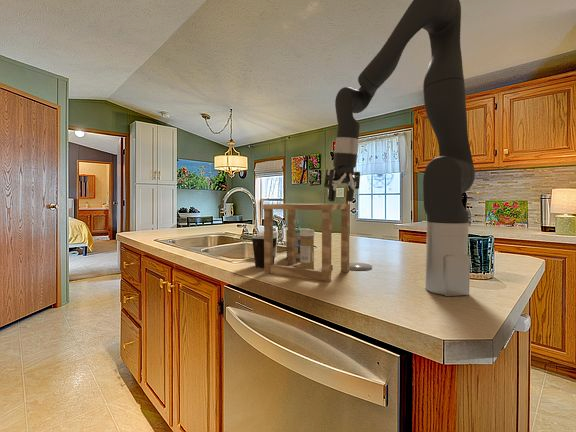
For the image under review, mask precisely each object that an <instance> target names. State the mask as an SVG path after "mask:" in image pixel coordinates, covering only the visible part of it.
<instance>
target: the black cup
mask: <svg viewBox="0 0 576 432" xmlns="http://www.w3.org/2000/svg"><path fill="white" fill-rule="evenodd" d="M278 233H279V232H278V231H277V230H273V236H275V237H277V238H279V237H278V235H279V234H278ZM257 236H264V230H260V231H257ZM277 250H278V240H277V241H276V250H275V256H276V257H277Z"/></svg>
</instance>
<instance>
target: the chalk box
mask: <svg viewBox="0 0 576 432" xmlns="http://www.w3.org/2000/svg"><path fill="white" fill-rule="evenodd" d="M295 225H296V226H297V227H295V261H298V260H299V261H300V245H301V237H300V230H303V229H311V230H313V228H306V227H305V228H302V227H301V225H300V223H299V220H295ZM285 232H286V235H285V236H286V260H287V259H288V229H286V231H285Z"/></svg>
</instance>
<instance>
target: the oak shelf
mask: <svg viewBox="0 0 576 432" xmlns="http://www.w3.org/2000/svg"><path fill="white" fill-rule="evenodd" d="M350 209H351V203H267V204H266V203H263V204H262V210H263V231H264V268H263V269H264V270H263V272H264V273H266V274H273V273H274V274H275V275H282V276H289V277H295V278H304V279H308V280H317V281H322V282H326V283H329V282H331V281H332V271H333V270H334V269H333V264H332V236H333V235H332V232H333V231H332V224H333V223H332V221H333V220H332V218H333V217H332V213H333V211H338V210H341V212H340V217H341V218H340V221H341V223H340V228H341V229H340V230H341V231H340V272H343V273H348V272H349V271H350V270H349V263H350V217H351V214H350V213H351V211H350ZM274 210H287V230H288V260H287V265H280V264H274V265H273V231H274ZM296 210H297V211H303V210H304V211H321V268H318V269H314V270H312V269H304V268H301V261H300V262H297V263H296V260H295V228H296Z"/></svg>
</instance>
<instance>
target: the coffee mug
mask: <svg viewBox="0 0 576 432" xmlns="http://www.w3.org/2000/svg"><path fill="white" fill-rule="evenodd" d="M251 241H252V250H253V259H254V265H255V266H256V267H255V268H258V267H260V268H259V269H264V236H258V235H257V236H252V237H251ZM276 241H277V242H278V237H275V236H273V265H275V250H276Z"/></svg>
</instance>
